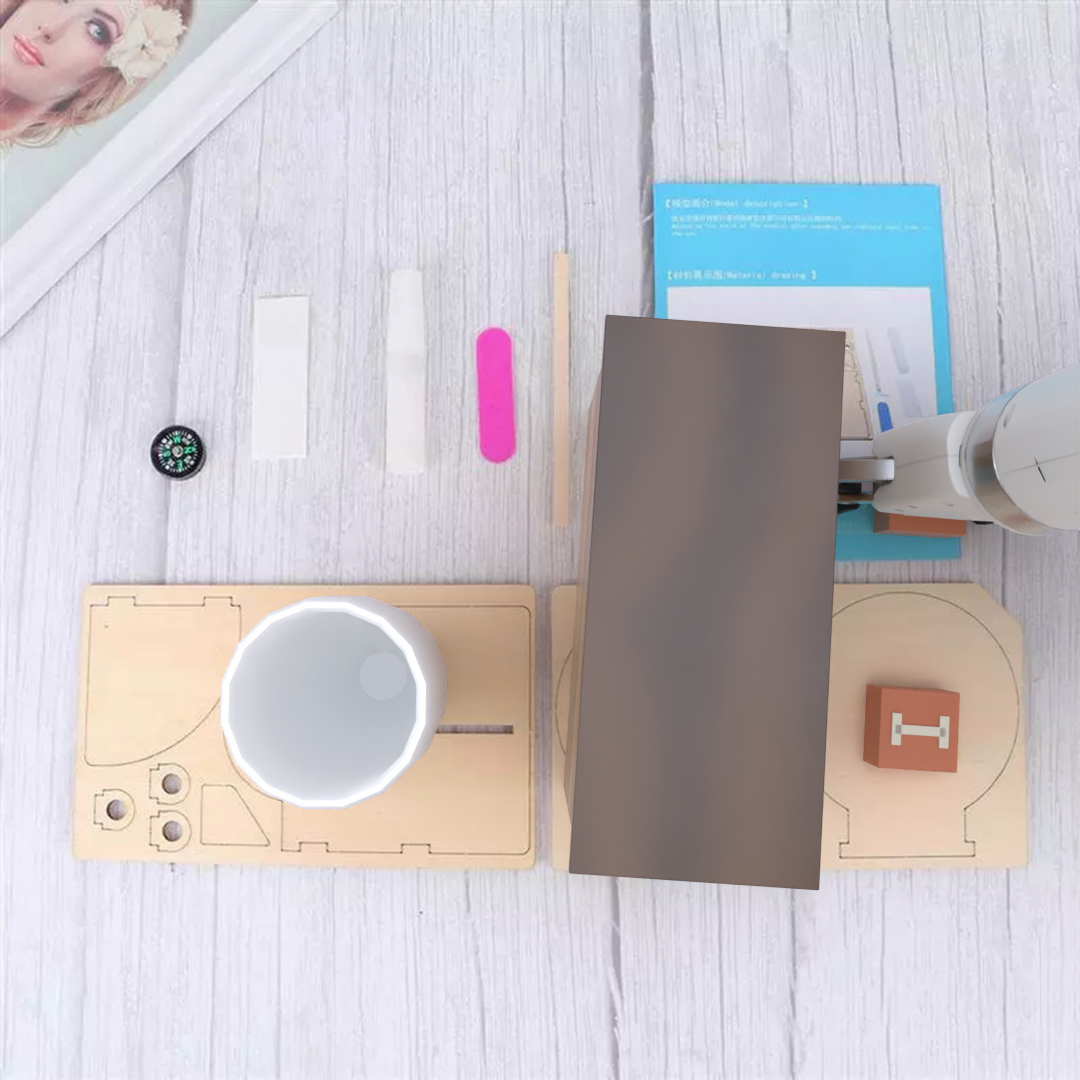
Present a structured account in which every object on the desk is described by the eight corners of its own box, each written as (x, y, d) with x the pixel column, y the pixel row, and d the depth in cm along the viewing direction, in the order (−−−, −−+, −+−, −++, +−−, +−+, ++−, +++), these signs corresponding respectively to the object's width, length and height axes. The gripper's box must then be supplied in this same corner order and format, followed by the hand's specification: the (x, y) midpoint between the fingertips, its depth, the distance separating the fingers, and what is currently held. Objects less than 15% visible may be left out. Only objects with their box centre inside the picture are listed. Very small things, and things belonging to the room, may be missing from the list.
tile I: (930, 687, 65) (961, 693, 61) (927, 761, 65) (958, 773, 60) (857, 682, 65) (882, 687, 61) (853, 756, 65) (879, 768, 60)
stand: (731, 424, 67) (831, 334, 45) (710, 792, 65) (804, 886, 43) (587, 414, 67) (615, 318, 45) (562, 782, 65) (579, 870, 43)
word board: (842, 335, 45) (846, 331, 44) (815, 886, 43) (819, 890, 42) (604, 317, 45) (605, 314, 44) (568, 870, 43) (568, 873, 42)
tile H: (939, 468, 67) (970, 457, 62) (936, 540, 66) (967, 535, 62) (867, 463, 67) (893, 452, 62) (864, 535, 66) (889, 529, 61)
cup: (368, 780, 65) (288, 866, 43) (284, 650, 65) (164, 670, 44) (498, 694, 65) (484, 736, 44) (414, 565, 66) (359, 544, 44)
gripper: (1223, 395, 48) (1035, 449, 65) (877, 368, 47) (780, 430, 64) (1220, 546, 47) (1031, 561, 64) (870, 520, 47) (774, 542, 64)
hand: (906, 496), depth 64 cm, fingers open, 9 cm apart
